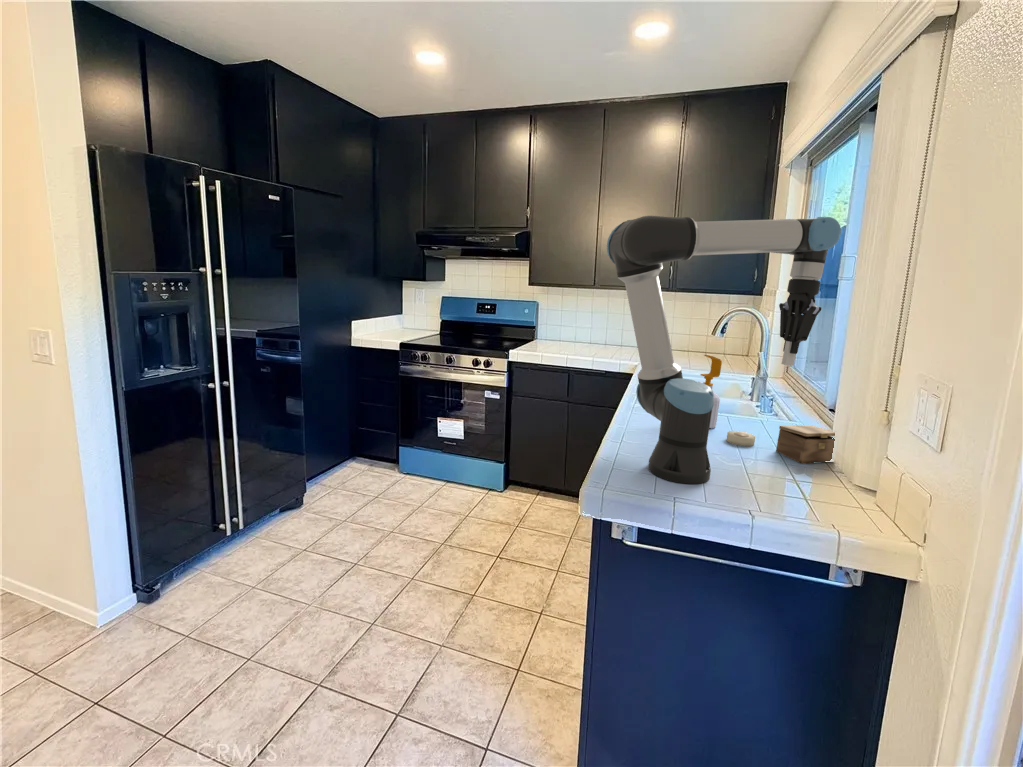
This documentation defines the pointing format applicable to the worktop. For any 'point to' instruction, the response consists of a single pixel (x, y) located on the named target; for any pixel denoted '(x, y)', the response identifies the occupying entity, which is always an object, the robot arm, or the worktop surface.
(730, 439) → the domed cap
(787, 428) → the lid
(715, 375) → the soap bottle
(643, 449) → the worktop surface
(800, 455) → the chest
